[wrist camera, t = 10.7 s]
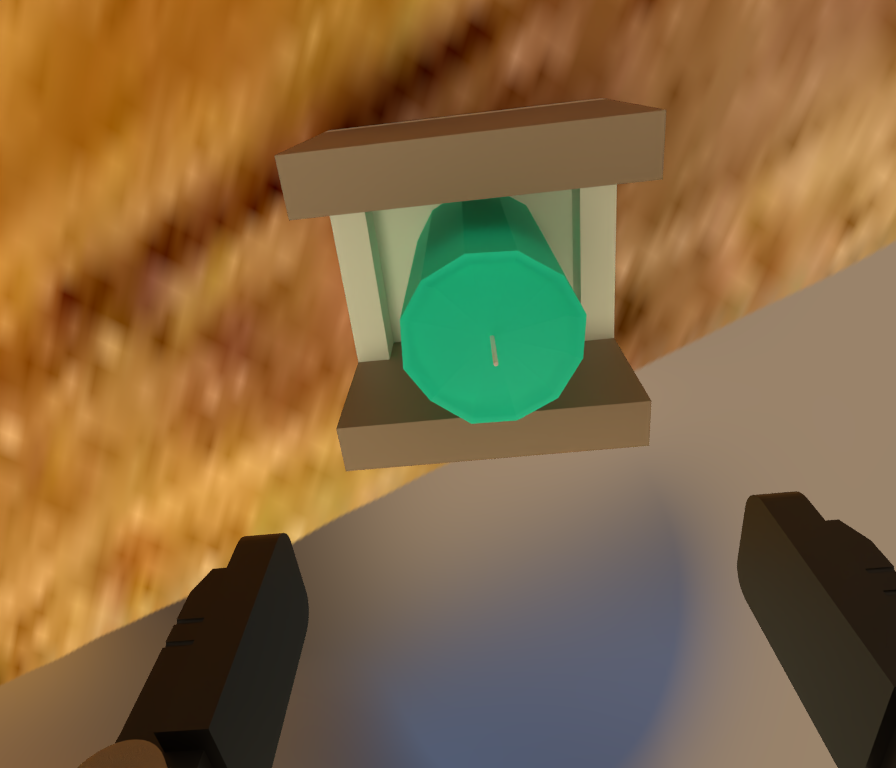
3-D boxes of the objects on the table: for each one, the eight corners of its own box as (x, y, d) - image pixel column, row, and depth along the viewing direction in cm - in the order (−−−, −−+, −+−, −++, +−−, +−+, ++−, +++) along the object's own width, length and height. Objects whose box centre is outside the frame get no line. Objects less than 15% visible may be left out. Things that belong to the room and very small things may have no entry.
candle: (477, 158, 26) (493, 216, 16) (571, 249, 28) (643, 358, 17) (390, 258, 28) (351, 370, 18) (482, 337, 30) (497, 482, 20)
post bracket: (328, 130, 27) (274, 155, 19) (601, 97, 26) (666, 109, 18) (373, 372, 32) (346, 471, 24) (599, 350, 32) (649, 445, 24)
